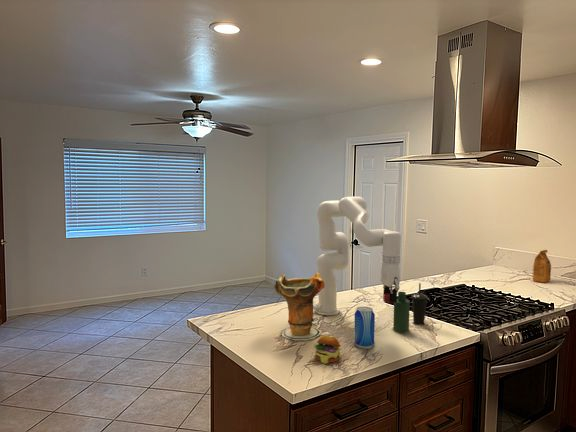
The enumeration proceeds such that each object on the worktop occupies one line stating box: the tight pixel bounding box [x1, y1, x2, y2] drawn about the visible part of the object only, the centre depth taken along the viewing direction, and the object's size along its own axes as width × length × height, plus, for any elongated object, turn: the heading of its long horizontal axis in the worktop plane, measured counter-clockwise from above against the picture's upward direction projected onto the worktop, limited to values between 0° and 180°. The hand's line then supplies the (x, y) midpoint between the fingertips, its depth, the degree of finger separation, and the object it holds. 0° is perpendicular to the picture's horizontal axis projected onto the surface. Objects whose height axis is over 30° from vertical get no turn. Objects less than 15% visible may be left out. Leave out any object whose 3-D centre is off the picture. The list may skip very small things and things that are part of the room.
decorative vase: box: [273, 272, 325, 341], centre depth 188 cm, size 21×23×28 cm
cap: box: [382, 293, 395, 304], centre depth 182 cm, size 5×5×3 cm
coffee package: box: [532, 249, 552, 283], centre depth 288 cm, size 10×12×22 cm
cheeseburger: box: [313, 335, 342, 364], centre depth 163 cm, size 10×11×10 cm
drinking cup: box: [411, 282, 429, 326], centre depth 203 cm, size 8×8×20 cm
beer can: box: [353, 306, 376, 350], centre depth 175 cm, size 8×8×16 cm
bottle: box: [392, 291, 411, 334], centre depth 193 cm, size 7×7×18 cm
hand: (389, 299), depth 182 cm, fingers closed on cap, 5 cm apart
